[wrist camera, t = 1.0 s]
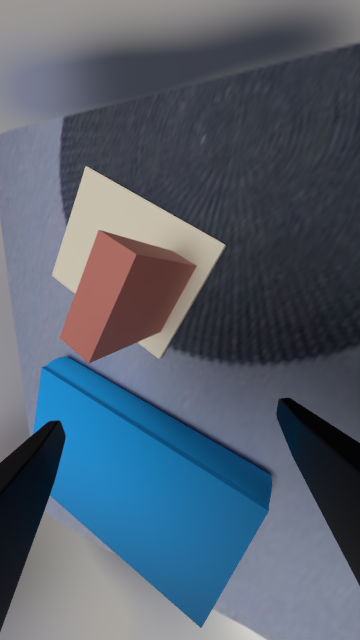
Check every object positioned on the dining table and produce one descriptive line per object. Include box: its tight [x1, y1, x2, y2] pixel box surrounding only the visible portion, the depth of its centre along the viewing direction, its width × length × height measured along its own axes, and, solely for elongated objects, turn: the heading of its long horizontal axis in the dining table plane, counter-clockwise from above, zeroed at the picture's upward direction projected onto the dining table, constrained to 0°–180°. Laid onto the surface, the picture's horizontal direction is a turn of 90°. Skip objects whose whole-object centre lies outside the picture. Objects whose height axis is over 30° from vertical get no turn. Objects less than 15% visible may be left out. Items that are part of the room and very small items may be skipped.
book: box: [33, 357, 272, 627], centre depth 25 cm, size 17×4×25 cm
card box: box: [60, 230, 197, 363], centre depth 17 cm, size 3×7×9 cm, turn 150°
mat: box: [52, 166, 226, 359], centre depth 22 cm, size 16×12×1 cm
